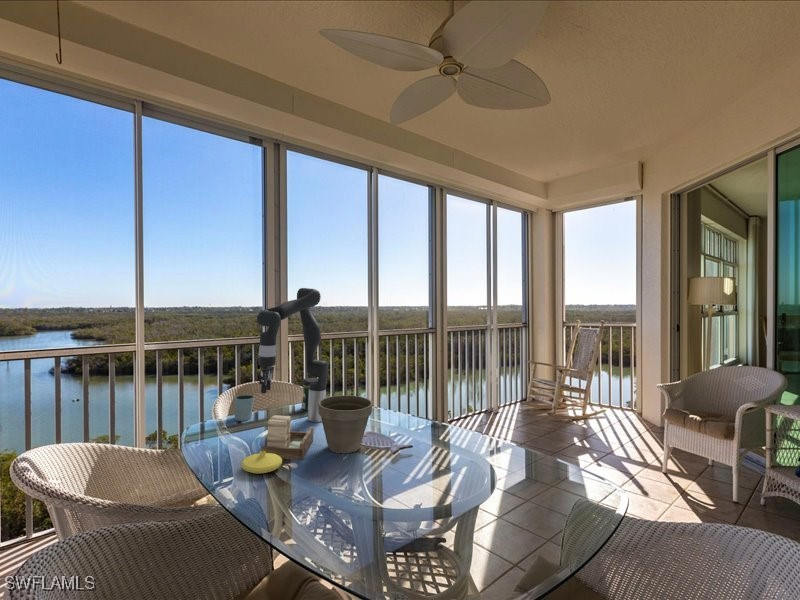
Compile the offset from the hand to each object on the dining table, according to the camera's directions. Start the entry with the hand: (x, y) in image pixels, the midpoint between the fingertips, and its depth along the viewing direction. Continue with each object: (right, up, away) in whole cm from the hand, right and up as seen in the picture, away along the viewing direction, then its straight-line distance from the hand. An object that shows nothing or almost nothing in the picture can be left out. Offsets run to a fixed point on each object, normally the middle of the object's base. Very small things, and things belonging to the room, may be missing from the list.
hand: (265, 391), depth 190 cm
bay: (+11, -26, -1) cm, 28 cm away
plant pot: (+35, -27, +4) cm, 45 cm away
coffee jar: (+7, -24, +61) cm, 66 cm away
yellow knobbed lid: (+6, -27, -22) cm, 35 cm away
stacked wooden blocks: (+6, -24, -1) cm, 25 cm away
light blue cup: (-24, -23, +37) cm, 50 cm away
